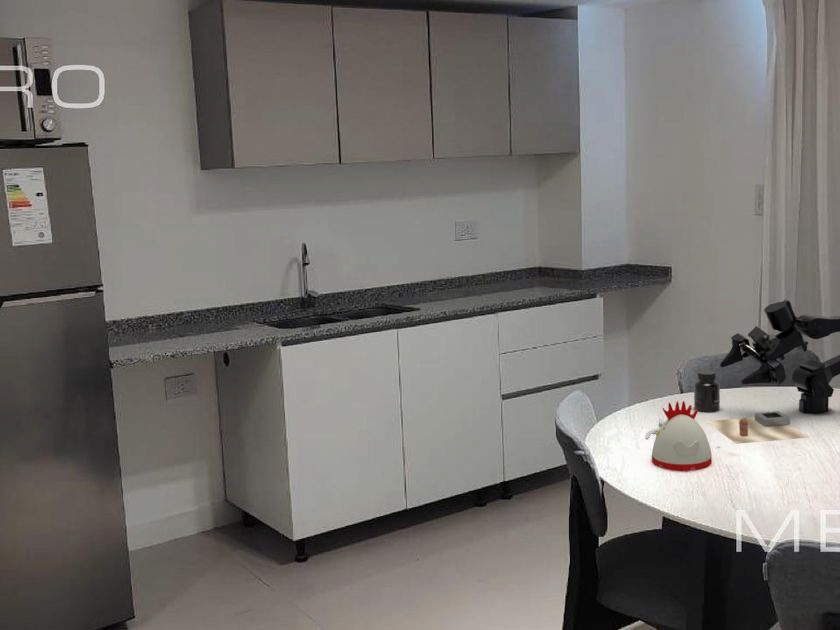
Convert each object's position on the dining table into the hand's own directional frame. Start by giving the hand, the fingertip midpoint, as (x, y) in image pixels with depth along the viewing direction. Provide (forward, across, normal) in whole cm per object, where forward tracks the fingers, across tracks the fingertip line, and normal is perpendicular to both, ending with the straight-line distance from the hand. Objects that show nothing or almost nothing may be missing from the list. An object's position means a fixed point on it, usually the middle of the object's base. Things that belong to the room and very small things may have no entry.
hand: (731, 374), depth 252 cm
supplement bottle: (+6, -8, +17) cm, 20 cm away
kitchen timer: (+28, +20, -4) cm, 35 cm away
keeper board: (+4, +13, +10) cm, 17 cm away
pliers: (+22, -1, +7) cm, 23 cm away
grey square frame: (-3, +10, +13) cm, 16 cm away
